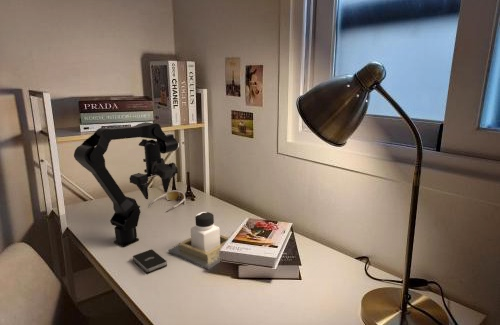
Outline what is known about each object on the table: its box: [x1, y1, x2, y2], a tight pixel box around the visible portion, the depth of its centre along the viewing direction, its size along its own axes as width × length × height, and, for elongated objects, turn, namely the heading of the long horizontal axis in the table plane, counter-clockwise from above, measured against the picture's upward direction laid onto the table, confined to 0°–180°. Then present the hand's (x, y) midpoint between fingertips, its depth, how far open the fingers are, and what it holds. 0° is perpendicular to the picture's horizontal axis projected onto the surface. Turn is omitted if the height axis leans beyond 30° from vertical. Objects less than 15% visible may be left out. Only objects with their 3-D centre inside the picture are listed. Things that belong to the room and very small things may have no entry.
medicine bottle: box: [190, 211, 221, 252], centre depth 118 cm, size 7×7×12 cm
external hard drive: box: [132, 248, 168, 275], centre depth 112 cm, size 7×11×2 cm, turn 41°
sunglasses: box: [148, 189, 186, 213], centre depth 160 cm, size 14×15×5 cm
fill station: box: [168, 234, 229, 270], centre depth 120 cm, size 18×18×3 cm
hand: (156, 195), depth 135 cm, fingers open, 9 cm apart
